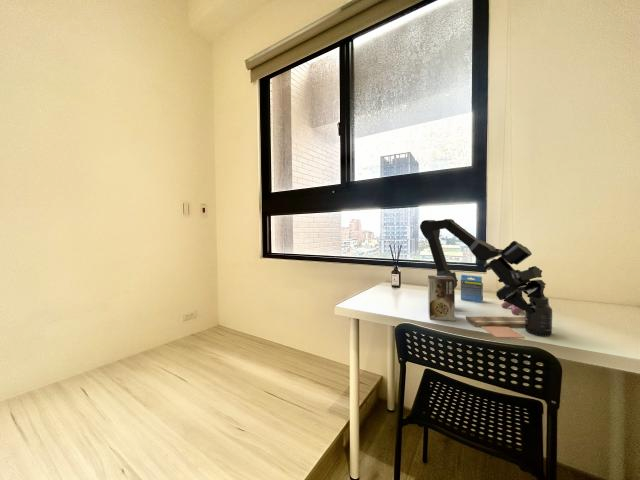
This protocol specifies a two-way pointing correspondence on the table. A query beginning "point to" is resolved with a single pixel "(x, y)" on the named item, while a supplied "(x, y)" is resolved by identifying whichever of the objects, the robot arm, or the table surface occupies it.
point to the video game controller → (515, 309)
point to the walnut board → (496, 321)
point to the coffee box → (441, 298)
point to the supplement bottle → (539, 316)
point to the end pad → (502, 332)
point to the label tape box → (471, 288)
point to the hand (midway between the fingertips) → (540, 311)
